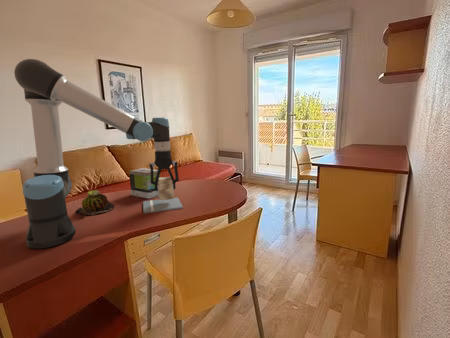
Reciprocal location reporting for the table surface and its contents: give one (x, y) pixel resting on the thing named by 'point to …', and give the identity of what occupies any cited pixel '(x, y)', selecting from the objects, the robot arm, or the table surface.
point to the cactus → (94, 204)
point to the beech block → (165, 188)
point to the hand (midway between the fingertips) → (165, 196)
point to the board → (161, 205)
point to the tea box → (143, 183)
